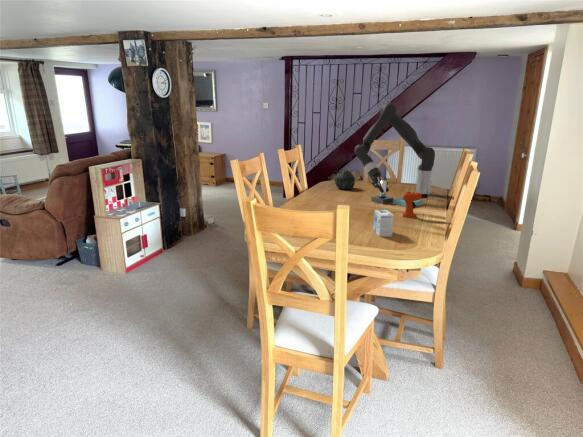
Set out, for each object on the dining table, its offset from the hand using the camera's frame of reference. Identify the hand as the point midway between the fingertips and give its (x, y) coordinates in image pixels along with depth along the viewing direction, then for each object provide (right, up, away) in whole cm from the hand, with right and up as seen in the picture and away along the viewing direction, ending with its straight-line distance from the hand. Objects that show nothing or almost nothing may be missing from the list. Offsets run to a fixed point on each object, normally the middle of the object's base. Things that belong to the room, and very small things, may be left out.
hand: (385, 191), depth 265 cm
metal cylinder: (-1, -6, +3) cm, 7 cm away
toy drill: (+11, -17, -34) cm, 39 cm away
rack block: (+13, -8, -3) cm, 16 cm away
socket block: (-1, -6, +3) cm, 7 cm away
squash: (-20, +5, +44) cm, 48 cm away
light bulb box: (-16, -25, -63) cm, 69 cm away
